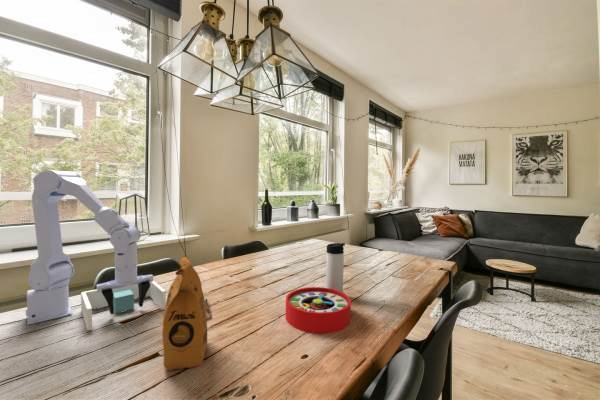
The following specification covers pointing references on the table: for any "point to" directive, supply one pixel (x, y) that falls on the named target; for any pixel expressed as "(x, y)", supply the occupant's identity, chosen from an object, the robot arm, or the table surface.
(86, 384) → the table surface
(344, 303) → the toy clock
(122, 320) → the table surface
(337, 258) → the travel mug
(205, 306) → the shard
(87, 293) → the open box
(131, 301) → the teal block
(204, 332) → the coffee package
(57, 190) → the robot arm
